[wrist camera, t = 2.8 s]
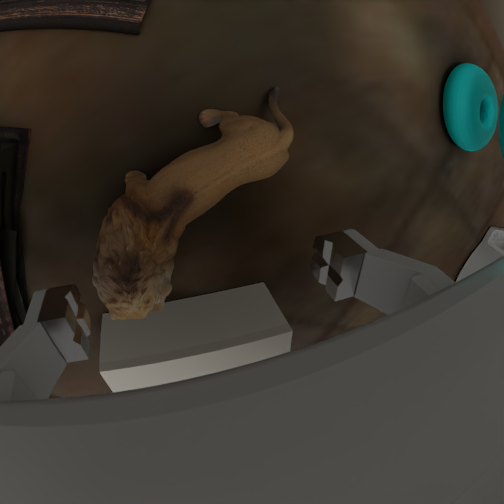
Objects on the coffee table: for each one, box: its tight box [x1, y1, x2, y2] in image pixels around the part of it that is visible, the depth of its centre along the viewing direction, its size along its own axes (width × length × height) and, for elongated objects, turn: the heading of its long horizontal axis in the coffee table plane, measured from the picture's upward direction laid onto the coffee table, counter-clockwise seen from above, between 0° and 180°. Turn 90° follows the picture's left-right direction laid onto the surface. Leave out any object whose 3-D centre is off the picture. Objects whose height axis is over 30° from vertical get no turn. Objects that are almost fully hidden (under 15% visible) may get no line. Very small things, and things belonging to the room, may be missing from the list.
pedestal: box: [99, 282, 293, 392], centre depth 26 cm, size 14×20×6 cm
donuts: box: [443, 63, 504, 158], centre depth 18 cm, size 10×10×10 cm
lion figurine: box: [92, 87, 294, 320], centre depth 14 cm, size 15×5×9 cm, turn 130°
